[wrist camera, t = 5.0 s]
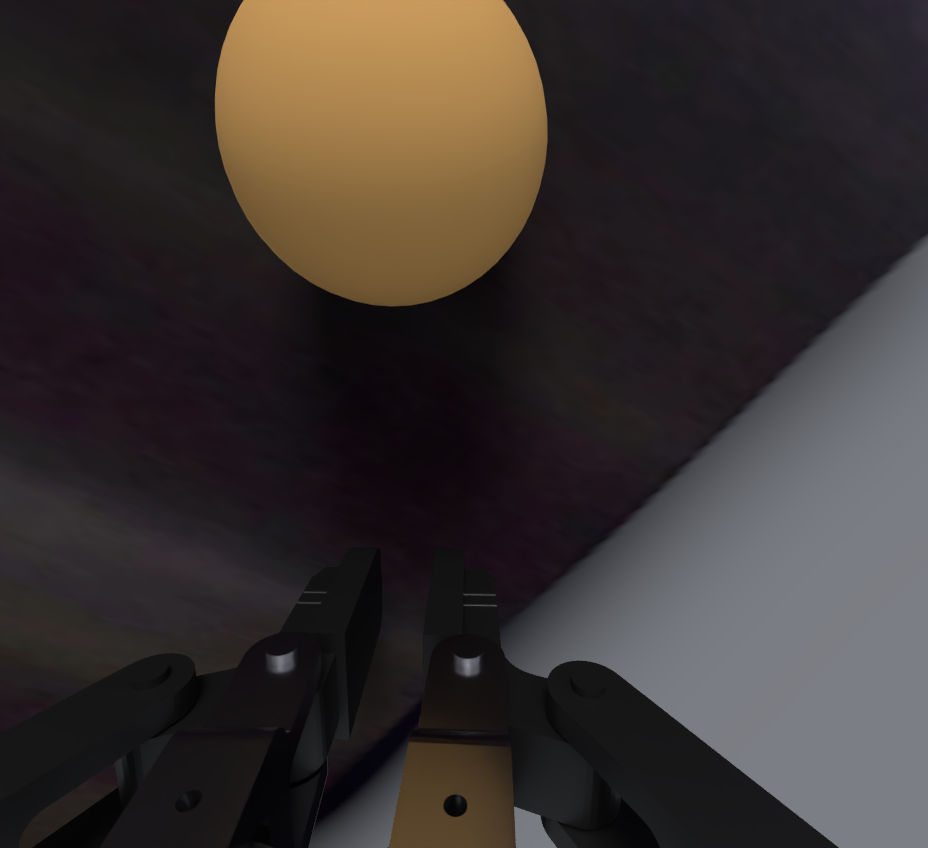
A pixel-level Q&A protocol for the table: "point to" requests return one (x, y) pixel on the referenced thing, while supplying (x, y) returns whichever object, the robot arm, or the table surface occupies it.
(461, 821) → the robot arm
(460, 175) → the ball
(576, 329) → the table surface
